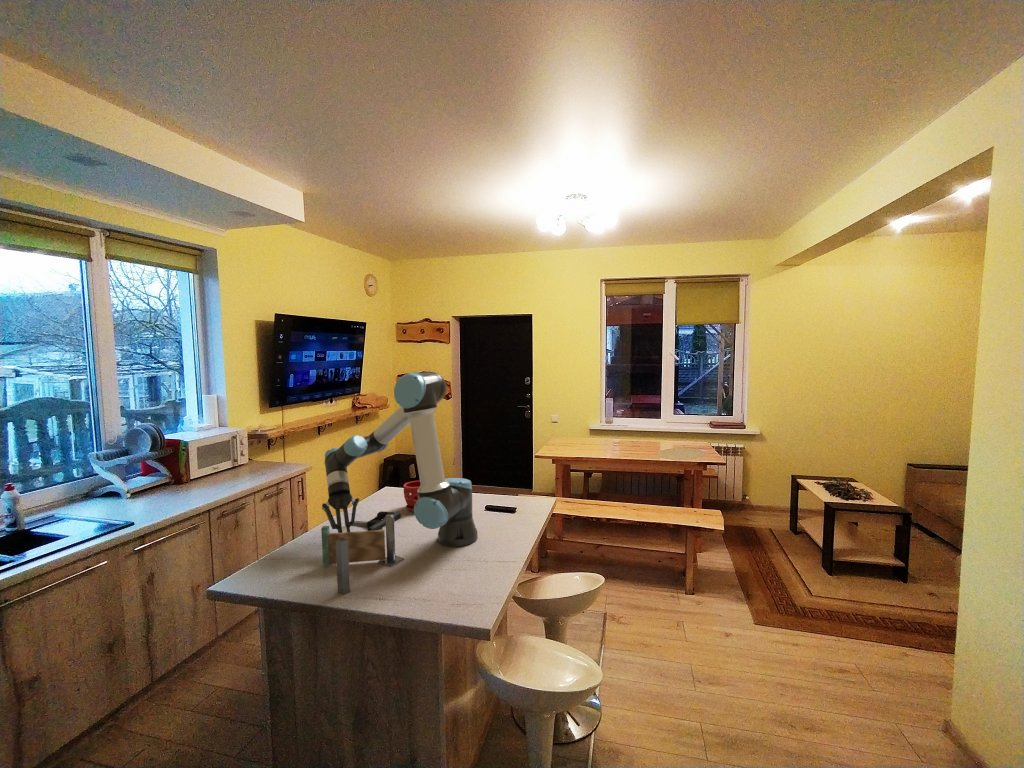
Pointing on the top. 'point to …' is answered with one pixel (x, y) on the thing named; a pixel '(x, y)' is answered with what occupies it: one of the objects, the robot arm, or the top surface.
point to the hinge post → (390, 543)
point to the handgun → (378, 521)
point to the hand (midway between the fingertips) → (345, 545)
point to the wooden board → (354, 545)
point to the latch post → (342, 566)
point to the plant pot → (411, 499)
